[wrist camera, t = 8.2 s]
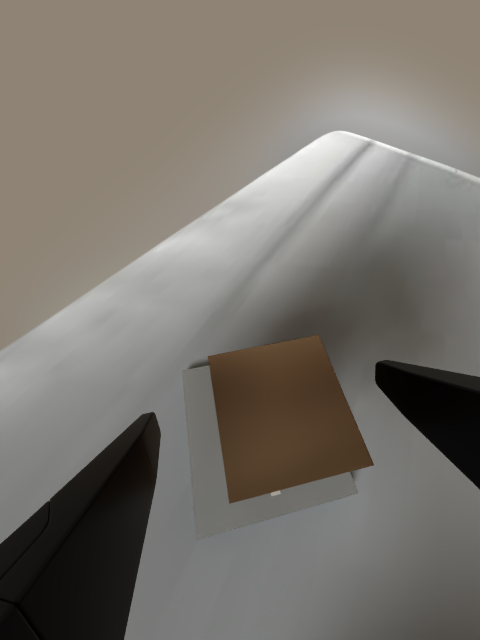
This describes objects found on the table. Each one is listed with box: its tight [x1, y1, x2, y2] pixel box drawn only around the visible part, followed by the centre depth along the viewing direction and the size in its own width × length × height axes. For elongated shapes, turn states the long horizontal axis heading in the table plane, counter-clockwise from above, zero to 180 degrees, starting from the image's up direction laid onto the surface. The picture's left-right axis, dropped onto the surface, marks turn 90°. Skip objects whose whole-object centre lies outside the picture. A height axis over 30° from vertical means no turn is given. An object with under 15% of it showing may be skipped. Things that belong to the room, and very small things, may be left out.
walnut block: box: [208, 335, 374, 504], centre depth 11 cm, size 4×4×9 cm
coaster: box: [182, 365, 358, 540], centre depth 16 cm, size 10×10×1 cm
